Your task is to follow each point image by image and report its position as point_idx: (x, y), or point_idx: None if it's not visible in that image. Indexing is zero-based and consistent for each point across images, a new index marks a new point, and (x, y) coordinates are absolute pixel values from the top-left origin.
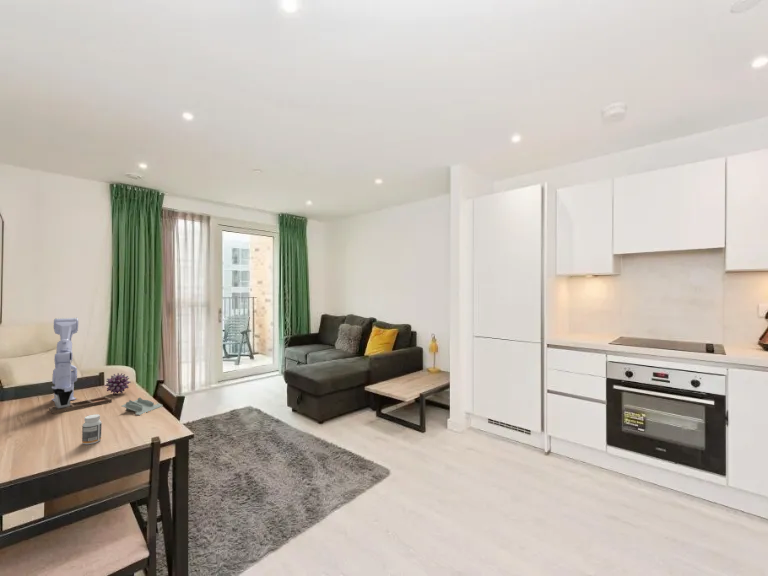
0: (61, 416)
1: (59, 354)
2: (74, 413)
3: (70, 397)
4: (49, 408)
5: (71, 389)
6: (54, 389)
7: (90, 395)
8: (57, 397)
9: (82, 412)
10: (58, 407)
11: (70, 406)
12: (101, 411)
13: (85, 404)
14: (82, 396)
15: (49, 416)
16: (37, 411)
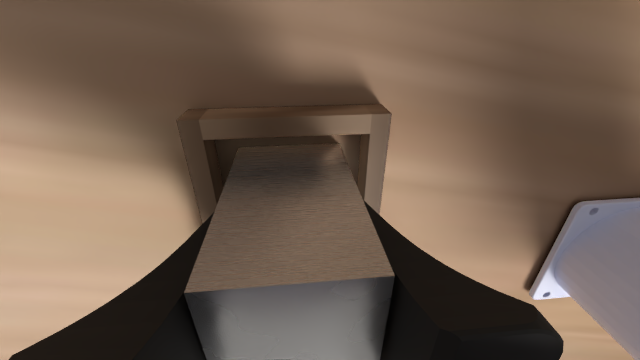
0: (8, 138)
1: None
2: (69, 230)
3: (566, 287)
4: (361, 113)
5: (637, 358)
6: (545, 354)
7: None
8: (225, 256)
9: (64, 270)
10: (232, 175)
11: None
12: (8, 344)
13: None
14: (563, 320)
15: (94, 53)
16: (459, 14)
